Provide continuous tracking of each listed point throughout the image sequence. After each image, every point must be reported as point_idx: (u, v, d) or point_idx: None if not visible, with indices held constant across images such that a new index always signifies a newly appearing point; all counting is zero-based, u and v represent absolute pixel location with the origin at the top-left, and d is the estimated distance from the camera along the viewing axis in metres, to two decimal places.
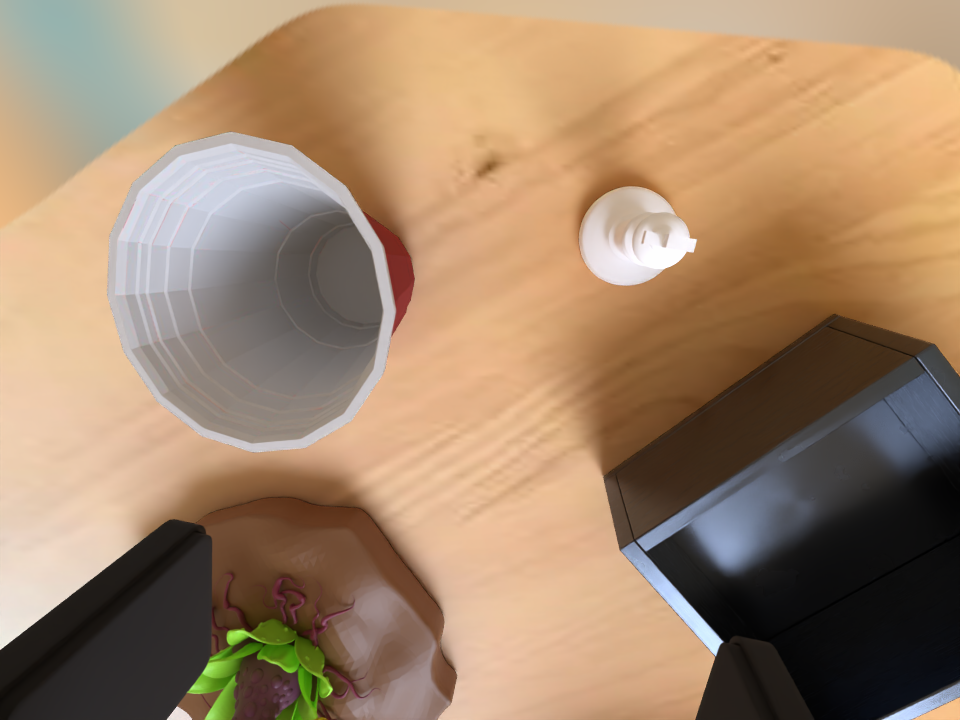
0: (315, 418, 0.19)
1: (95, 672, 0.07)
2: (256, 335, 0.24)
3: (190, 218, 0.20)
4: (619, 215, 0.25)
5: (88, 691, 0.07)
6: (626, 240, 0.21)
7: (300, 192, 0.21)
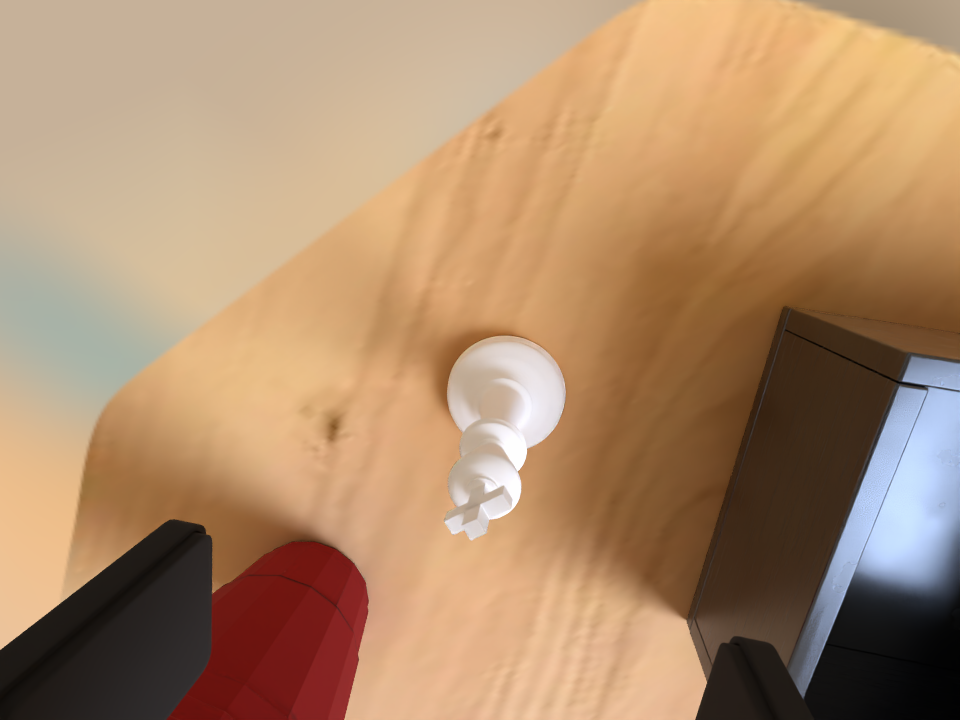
0: None
1: (94, 672, 0.07)
2: None
3: None
4: (474, 392, 0.21)
5: (87, 691, 0.07)
6: None
7: None
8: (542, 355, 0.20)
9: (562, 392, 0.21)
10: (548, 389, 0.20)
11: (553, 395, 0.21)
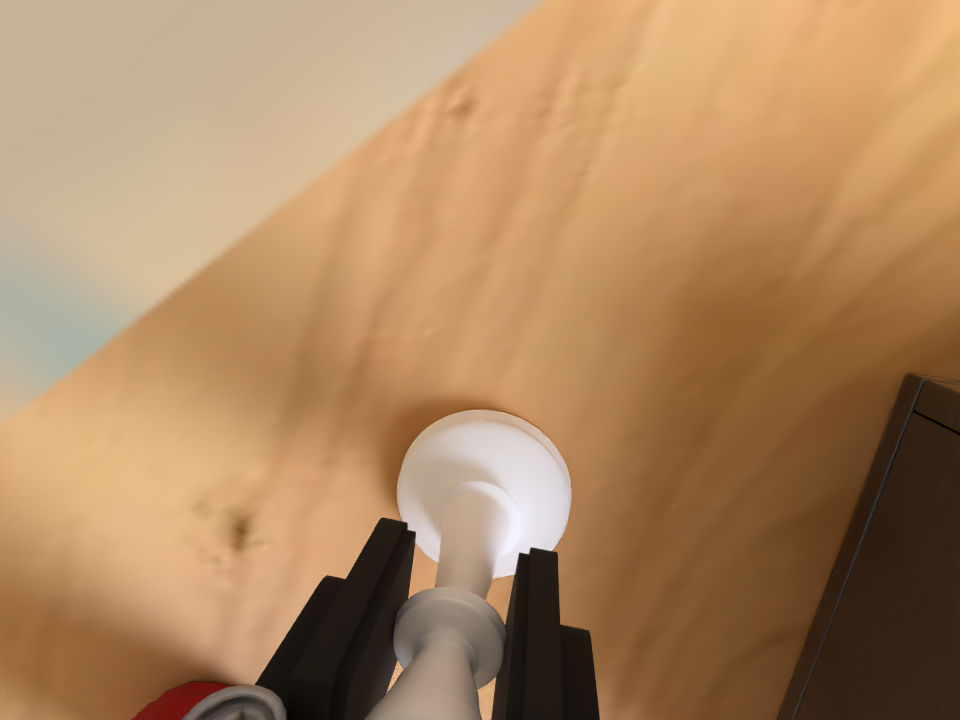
0: None
1: (373, 651, 0.08)
2: None
3: None
4: (435, 496, 0.14)
5: (369, 668, 0.08)
6: None
7: None
8: (537, 442, 0.14)
9: (567, 496, 0.14)
10: (545, 494, 0.14)
11: (553, 502, 0.14)
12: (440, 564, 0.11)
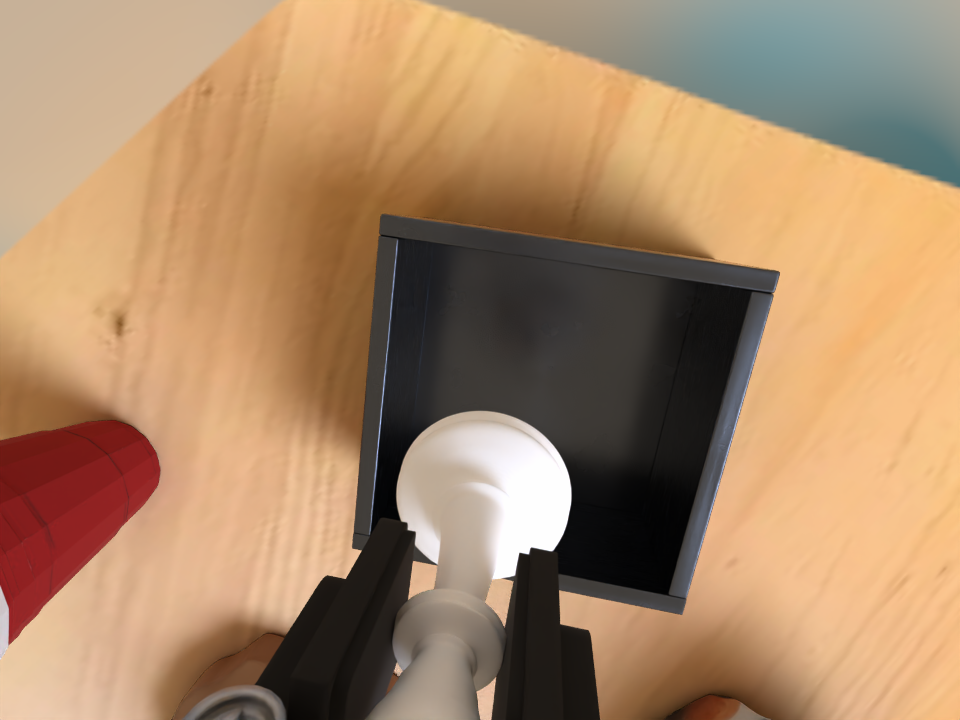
0: None
1: (373, 651, 0.08)
2: None
3: None
4: (435, 497, 0.14)
5: (369, 668, 0.08)
6: None
7: None
8: (536, 444, 0.14)
9: (566, 498, 0.14)
10: (545, 495, 0.14)
11: (553, 503, 0.14)
12: (439, 566, 0.11)
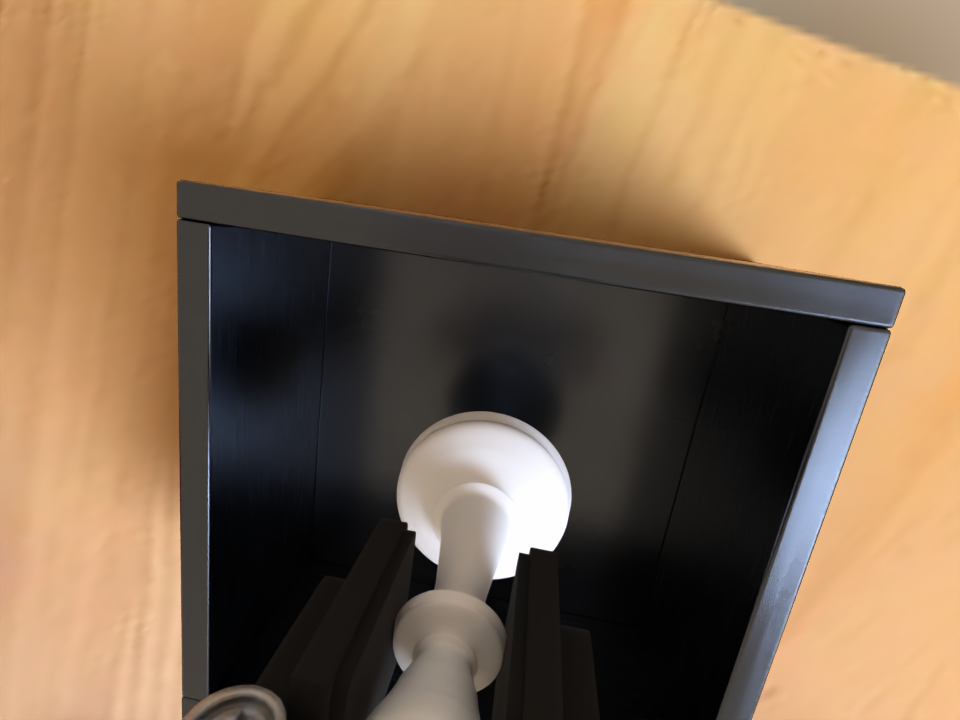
0: None
1: (373, 651, 0.08)
2: None
3: None
4: (435, 498, 0.14)
5: (369, 668, 0.08)
6: None
7: None
8: (536, 444, 0.14)
9: (567, 498, 0.14)
10: (545, 496, 0.14)
11: (553, 503, 0.14)
12: (440, 566, 0.11)
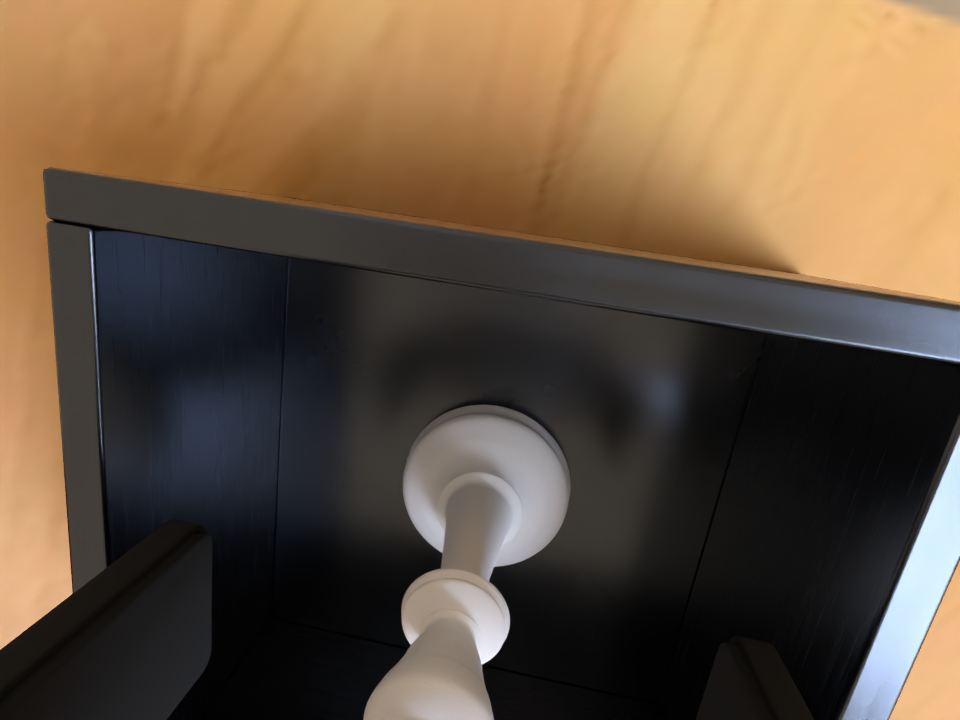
0: None
1: (95, 672, 0.07)
2: None
3: None
4: (440, 487, 0.14)
5: (88, 691, 0.07)
6: None
7: None
8: (537, 435, 0.14)
9: (566, 488, 0.14)
10: (545, 485, 0.14)
11: (553, 493, 0.14)
12: (445, 549, 0.12)
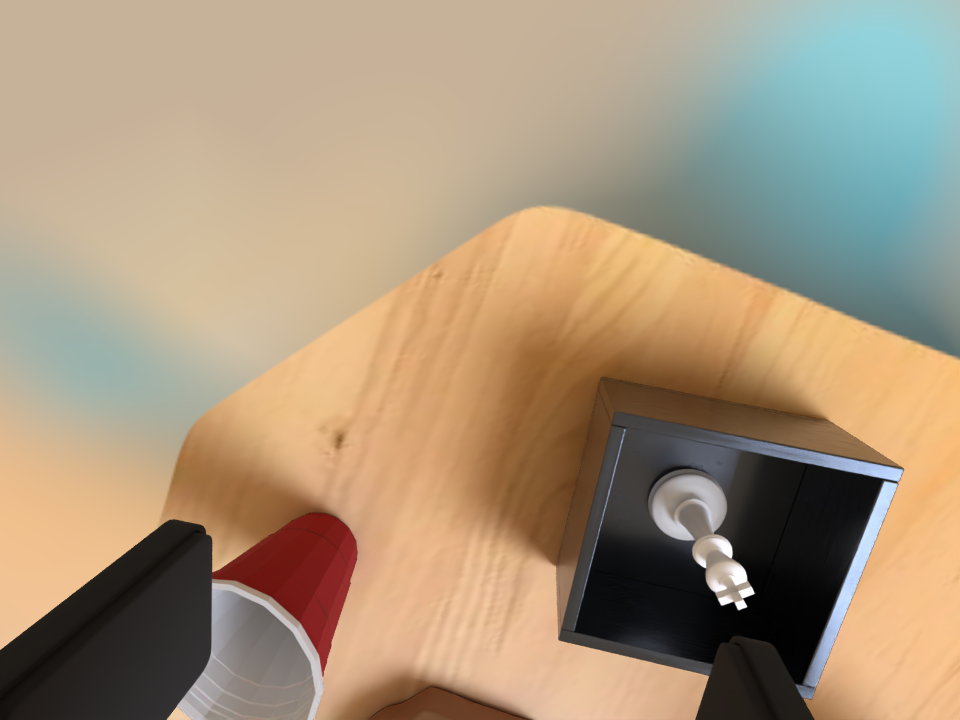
0: (312, 696, 0.29)
1: (95, 672, 0.07)
2: (272, 646, 0.35)
3: None
4: (673, 505, 0.34)
5: (88, 691, 0.07)
6: (699, 562, 0.29)
7: None
8: (715, 483, 0.33)
9: (726, 506, 0.34)
10: (719, 505, 0.33)
11: (721, 508, 0.33)
12: (695, 529, 0.31)
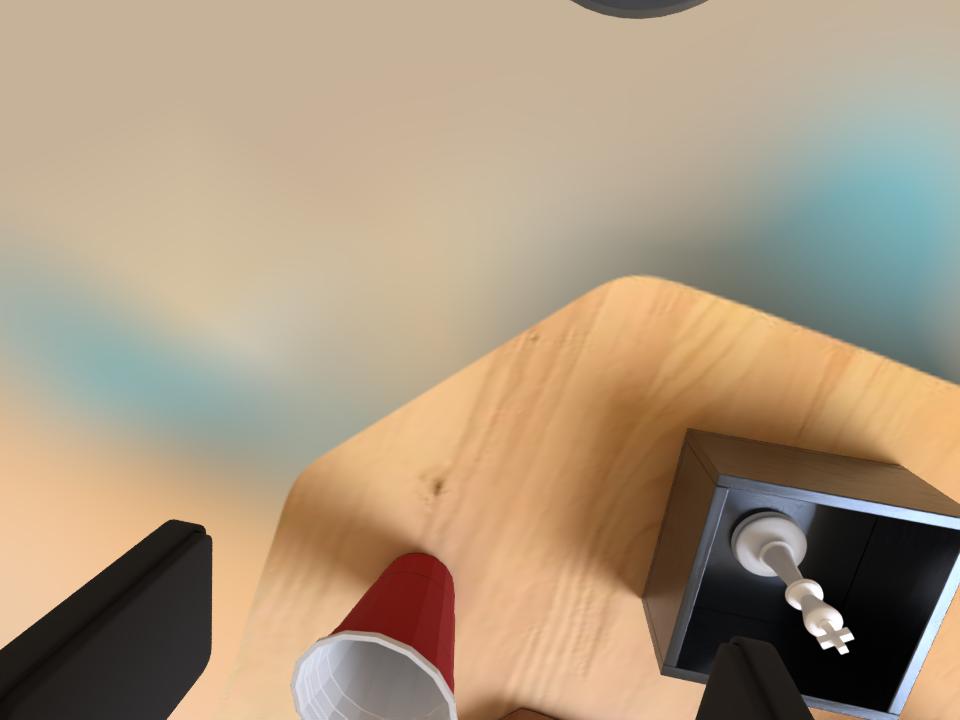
0: None
1: (95, 672, 0.07)
2: (389, 680, 0.38)
3: (321, 668, 0.34)
4: (757, 545, 0.36)
5: (88, 691, 0.07)
6: (792, 604, 0.32)
7: None
8: (796, 525, 0.36)
9: (806, 545, 0.36)
10: (800, 545, 0.36)
11: (802, 547, 0.36)
12: (784, 571, 0.34)
